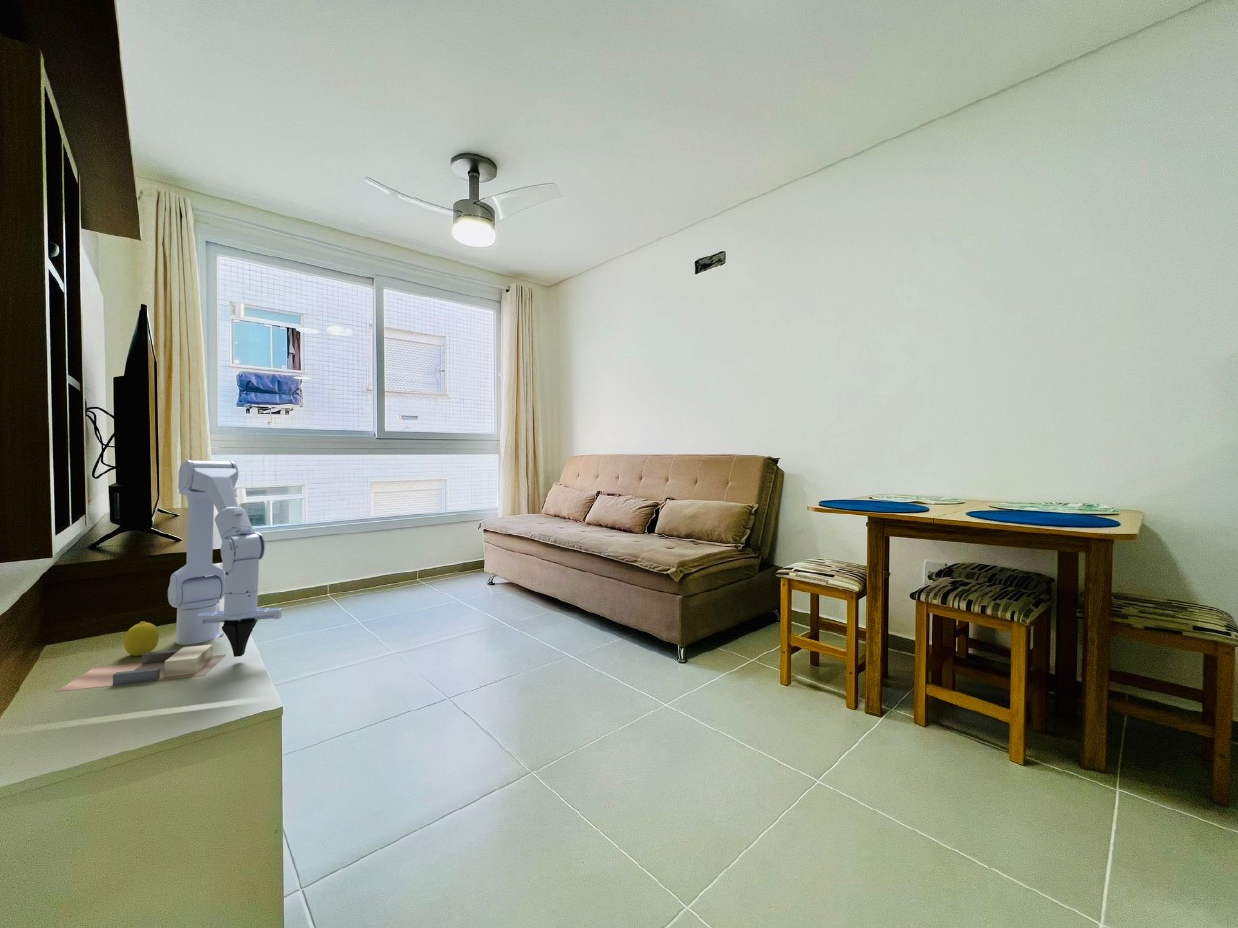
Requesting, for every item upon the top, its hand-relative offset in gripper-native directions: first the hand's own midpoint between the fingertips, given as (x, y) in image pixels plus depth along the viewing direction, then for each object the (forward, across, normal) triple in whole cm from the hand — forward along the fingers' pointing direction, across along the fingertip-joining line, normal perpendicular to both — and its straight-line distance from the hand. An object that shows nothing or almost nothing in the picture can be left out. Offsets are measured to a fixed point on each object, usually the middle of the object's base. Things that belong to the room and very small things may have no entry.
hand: (239, 654), depth 106 cm
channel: (+2, -15, 0) cm, 15 cm away
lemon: (+2, -21, +12) cm, 24 cm away
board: (+2, -15, 0) cm, 15 cm away
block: (+2, -8, 0) cm, 9 cm away
